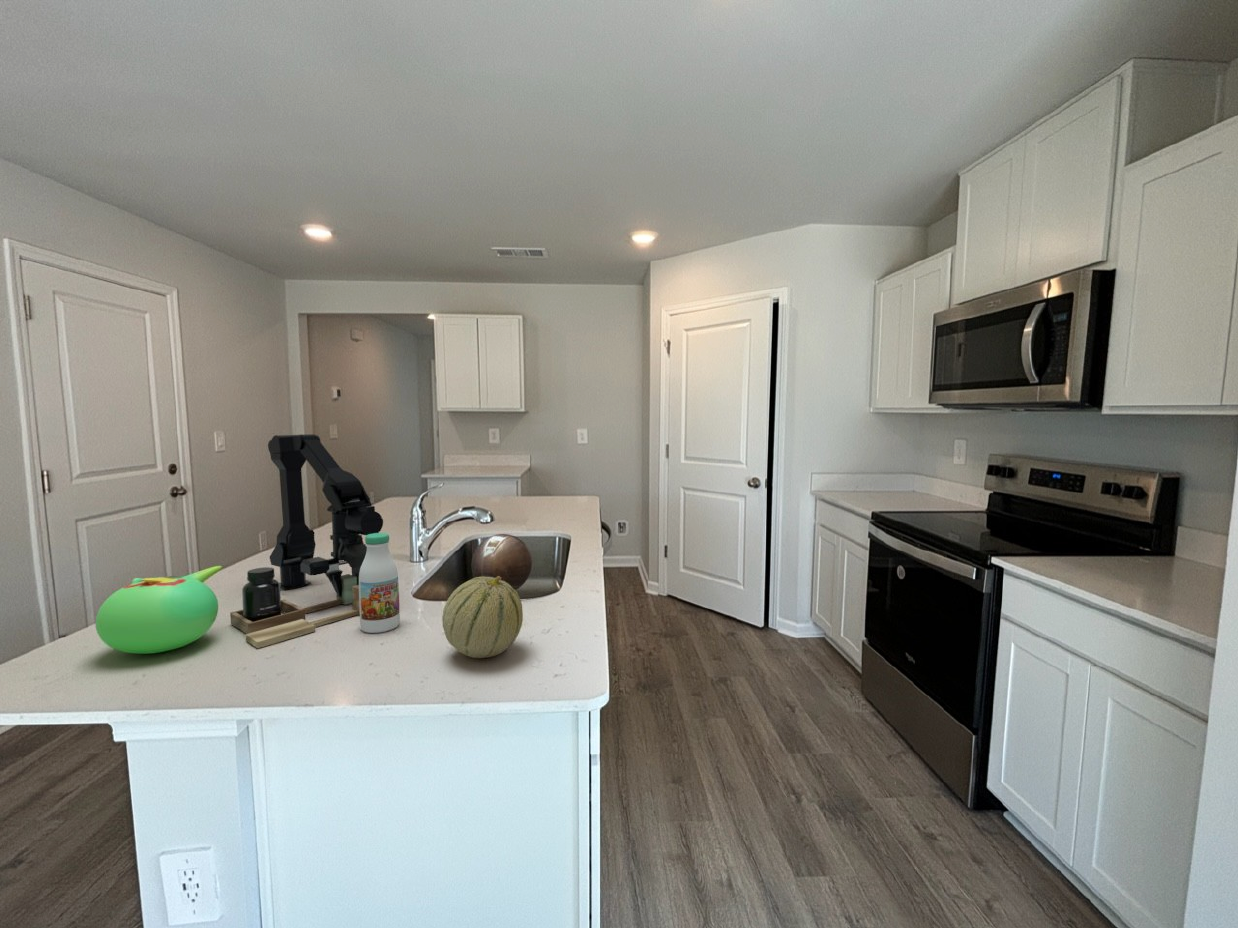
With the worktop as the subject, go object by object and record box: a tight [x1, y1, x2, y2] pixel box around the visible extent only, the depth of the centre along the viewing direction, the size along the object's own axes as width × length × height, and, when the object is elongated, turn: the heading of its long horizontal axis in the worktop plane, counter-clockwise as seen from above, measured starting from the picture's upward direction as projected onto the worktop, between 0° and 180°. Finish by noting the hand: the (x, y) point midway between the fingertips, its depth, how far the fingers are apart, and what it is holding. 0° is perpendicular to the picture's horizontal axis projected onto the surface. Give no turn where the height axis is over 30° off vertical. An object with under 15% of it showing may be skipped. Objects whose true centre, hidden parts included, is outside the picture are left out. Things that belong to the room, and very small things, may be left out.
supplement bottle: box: [241, 567, 282, 622], centre depth 116 cm, size 7×7×12 cm
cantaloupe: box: [441, 576, 524, 659], centre depth 102 cm, size 15×15×15 cm
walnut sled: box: [229, 573, 357, 635], centre depth 122 cm, size 11×24×6 cm, turn 143°
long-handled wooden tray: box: [244, 585, 360, 649], centre depth 115 cm, size 6×24×6 cm, turn 143°
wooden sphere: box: [471, 533, 533, 591], centre depth 138 cm, size 15×15×15 cm
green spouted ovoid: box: [95, 565, 223, 655], centre depth 104 cm, size 18×17×15 cm
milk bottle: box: [359, 532, 401, 634], centre depth 115 cm, size 8×8×20 cm
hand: (347, 594), depth 131 cm, fingers open, 3 cm apart
